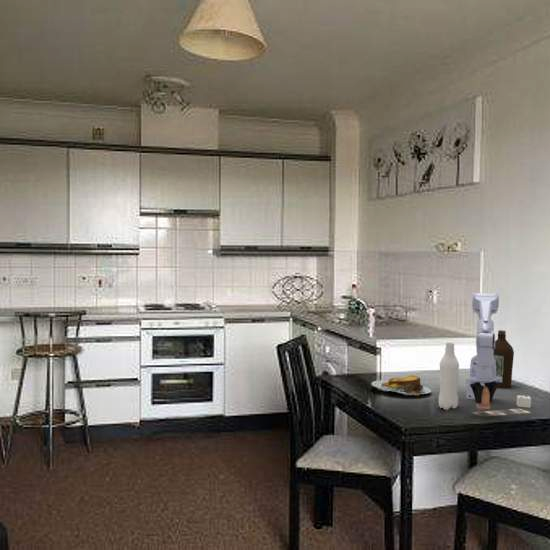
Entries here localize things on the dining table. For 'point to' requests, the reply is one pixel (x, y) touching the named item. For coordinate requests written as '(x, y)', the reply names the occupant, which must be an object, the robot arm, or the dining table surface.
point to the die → (523, 401)
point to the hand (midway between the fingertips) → (483, 402)
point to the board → (497, 412)
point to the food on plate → (402, 385)
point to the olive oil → (503, 360)
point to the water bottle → (448, 378)
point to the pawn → (484, 399)
